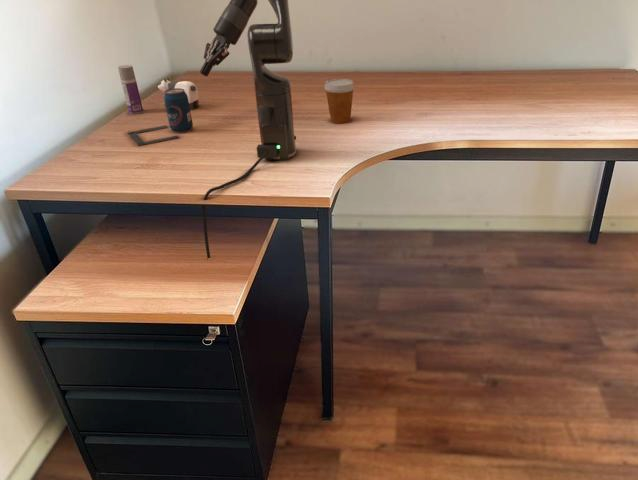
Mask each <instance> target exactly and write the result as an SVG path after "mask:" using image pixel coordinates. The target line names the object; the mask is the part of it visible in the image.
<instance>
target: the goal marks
mask: <svg viewBox="0 0 638 480" xmlns="http://www.w3.org/2000/svg"><path fill="white" fill-rule="evenodd" d="M163 129H168V126H167V125H162V126H157V127H152V128H146V129H139V130H136V131H130V132H129V131H128V132H127V135H129V136H130V138H131V139H132V141H134V142H135V143H136V144H137V146H138V147H140V146H145V145H150V144H151V145H152V144H156V143H160V142H166V141H171V140H172V141H173V140H176V139H179V138H180V137H179V136H178V135H174V136H169V137H164V138H159V139H153V140H149V141H144V140H143V139H142V138H141V137H140V136H139V135H138V134H141V133H142V134H143V133H147V132H152V131H158V130H163Z"/></svg>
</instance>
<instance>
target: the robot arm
mask: <svg viewBox="0 0 638 480" xmlns="http://www.w3.org/2000/svg"><path fill="white" fill-rule="evenodd" d="M267 1H268V2H269V4H270V6H271V7H272V9H273V11H274V14H275V17H276V19H277V23H256V24H255V23H254V24H250V25H249V26H248V23H249V21H250V19H251V17H252V15H253V14H254V11H255V10H256V8H257V6H258V3H259V1H258V0H230V1H229V3H228V4H227V6H226V7H224V10H223V11H222V13H221V15H220V16H219V18H218V20H217V22H216V24H215V25H214V27H213V29H212V30H213V32H214V33H215V36H214V38H212V40H211V42H207V43H206V45H205V48H204V54H203V59H204V63H203V64H202V66H201V68H200V70H199V74H201V75H203V76H204V77H208V76H209V75H210V73H211V71H212V70H213V67H215V66H219V65H220V64H221V63H222V62H223V61H224V60H226V59H227V58H228V56H229V55H230V51H228V50H229V49H230V45H233V46H236V45H237V44H238V42H239V40H240V38H241V36H242V34H243V32H244V31H245V29H246V27H247V26H248V29H247V37H246V38H247V45H248V51H249V58H250V63H251V70H252V76H253V77H252V78H253V84H254V94H255V102H256V103H255V104H256V112H257V119H258V127H259V129H258V130H259V136H260V144H257V146H256V155H257V160H256V162H255V163H253V165H252V166H251V167H250V168H249V169H248V170H247V171H246V172H245V173H244V174H243V175H241V176H239V177H238V178H235V179H232V180H230V181H228V182H227V181H226V183H223V184H221V185H218V186H215V187H212V188H210V189H208V191H206V193H205V195H204V196H203V198H202V201H207V200H208V198H209V195H210V194H211V193H213V192H215V191H218V190H221V189H223V188H226V187H228V186H230V185H234V184H236V183H238V182H240V181H242V180H243V179H245V178H246V177H248V176H249V175H250V174H251V172H252V171H253V170H254V169H256V167H257V166H258V165H259V164H260V163H261V161H262V160H264V159H265V160H266V161H268V160H269V161H282V160H283V161H287V160H289V159H290V158H292V157H294V156H296V155H297V148H296V141H297V136H296V134H295V125H294V111H293V102H292V89H291V88H292V87H291V81H290V79H289V78H288V77H286V76H284V75H281V74H278V73H276V72H274V71H271V70H270V69H269V68H267V66H266V65H276V64H277V65H279V64H288V63H290V62H292V60H293V55H294V43H293V33H292V24H291V16H290V8H289V0H267ZM201 209H202V221H203V234H204V244H205V251H206V257H207V259H208V258H211V252H210V245H209V236H208V224H207V222H208V221H207V210H206V209H207V208H206V205H202V207H201Z"/></svg>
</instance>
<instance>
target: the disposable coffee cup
mask: <svg viewBox="0 0 638 480" xmlns="http://www.w3.org/2000/svg"><path fill="white" fill-rule="evenodd" d="M323 88H324V90H325V93H326V99H327V105H328V111H329V116H330V122H331V123H334V124H346V123H349V122H351V117H352V107H353V105H352V104H353V95H354V89H355V84H354V81H353V80H351V79H347V78H332V79H328V80H326V81H325V83H324V86H323Z"/></svg>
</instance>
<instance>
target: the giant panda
mask: <svg viewBox="0 0 638 480" xmlns="http://www.w3.org/2000/svg"><path fill="white" fill-rule="evenodd" d="M157 88H158V89H159V90H160V91H161V92H162V93H163V94H165V91H166V90H169V89H175V88H180V89H184V91H185V93H186V94H187V96H188V101H189V107H190V111H192V110H194V109H195V108H199V99H200V98H199V97H200V96H199V92H198V88H197V86H196V85H195V84H194V82H192V81H189V80H183V81H173V82H172V81H171V80H170V78H169V77H166V78H164V79H162V81H160V84H158V85H157Z"/></svg>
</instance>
